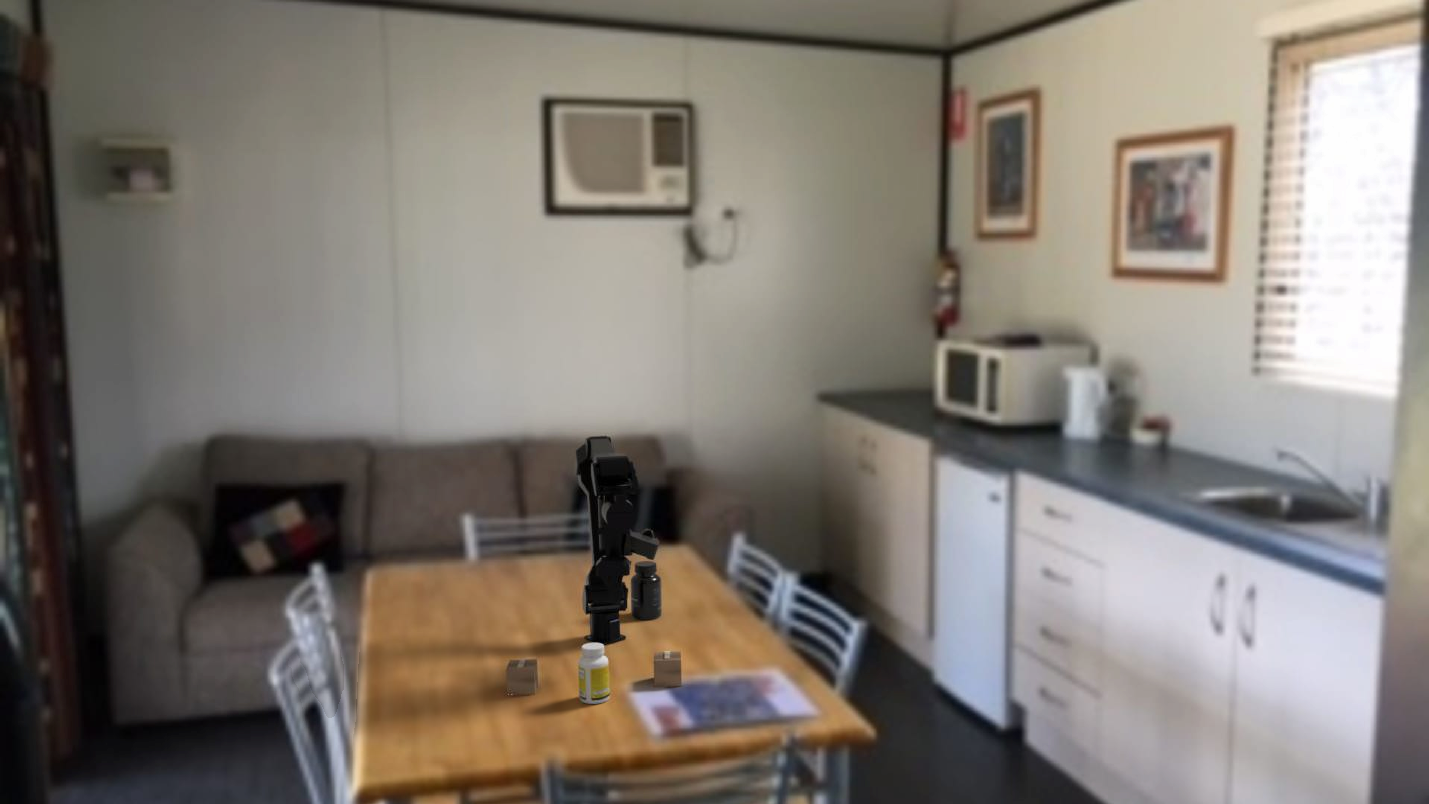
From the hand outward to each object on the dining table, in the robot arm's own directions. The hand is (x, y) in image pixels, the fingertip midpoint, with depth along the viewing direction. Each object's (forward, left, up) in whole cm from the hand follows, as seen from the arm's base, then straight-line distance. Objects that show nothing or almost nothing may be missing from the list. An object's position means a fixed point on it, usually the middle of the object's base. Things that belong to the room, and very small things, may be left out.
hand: (616, 601), depth 220 cm
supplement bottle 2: (-23, +24, -13) cm, 36 cm away
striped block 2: (+13, +2, -13) cm, 19 cm away
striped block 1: (-2, -20, -13) cm, 24 cm away
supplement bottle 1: (+11, -13, -13) cm, 22 cm away
